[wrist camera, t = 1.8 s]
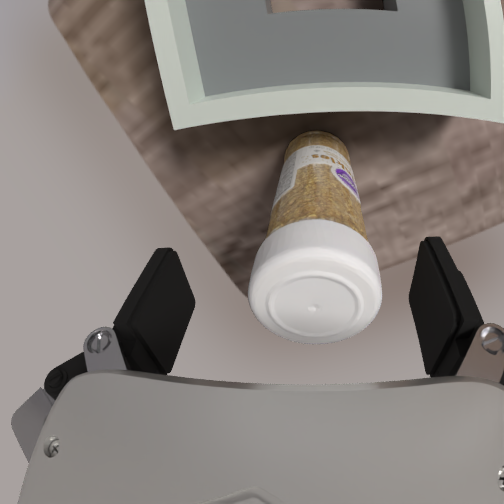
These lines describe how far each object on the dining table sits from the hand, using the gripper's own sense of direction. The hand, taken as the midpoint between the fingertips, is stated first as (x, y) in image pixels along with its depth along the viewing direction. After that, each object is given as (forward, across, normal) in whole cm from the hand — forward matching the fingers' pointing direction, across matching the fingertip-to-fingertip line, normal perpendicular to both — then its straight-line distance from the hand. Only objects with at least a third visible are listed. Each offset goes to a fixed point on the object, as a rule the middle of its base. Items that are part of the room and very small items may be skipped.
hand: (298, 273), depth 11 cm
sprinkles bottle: (+12, -1, 0) cm, 12 cm away
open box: (+12, -3, -14) cm, 18 cm away
